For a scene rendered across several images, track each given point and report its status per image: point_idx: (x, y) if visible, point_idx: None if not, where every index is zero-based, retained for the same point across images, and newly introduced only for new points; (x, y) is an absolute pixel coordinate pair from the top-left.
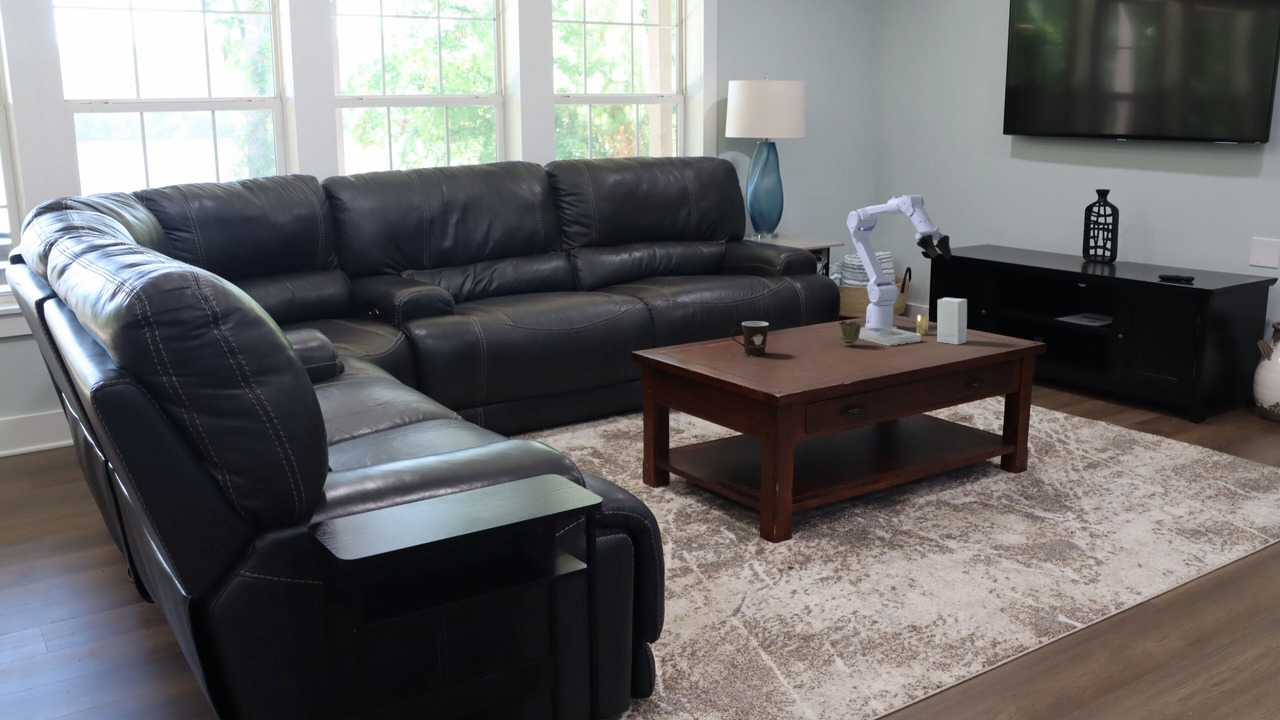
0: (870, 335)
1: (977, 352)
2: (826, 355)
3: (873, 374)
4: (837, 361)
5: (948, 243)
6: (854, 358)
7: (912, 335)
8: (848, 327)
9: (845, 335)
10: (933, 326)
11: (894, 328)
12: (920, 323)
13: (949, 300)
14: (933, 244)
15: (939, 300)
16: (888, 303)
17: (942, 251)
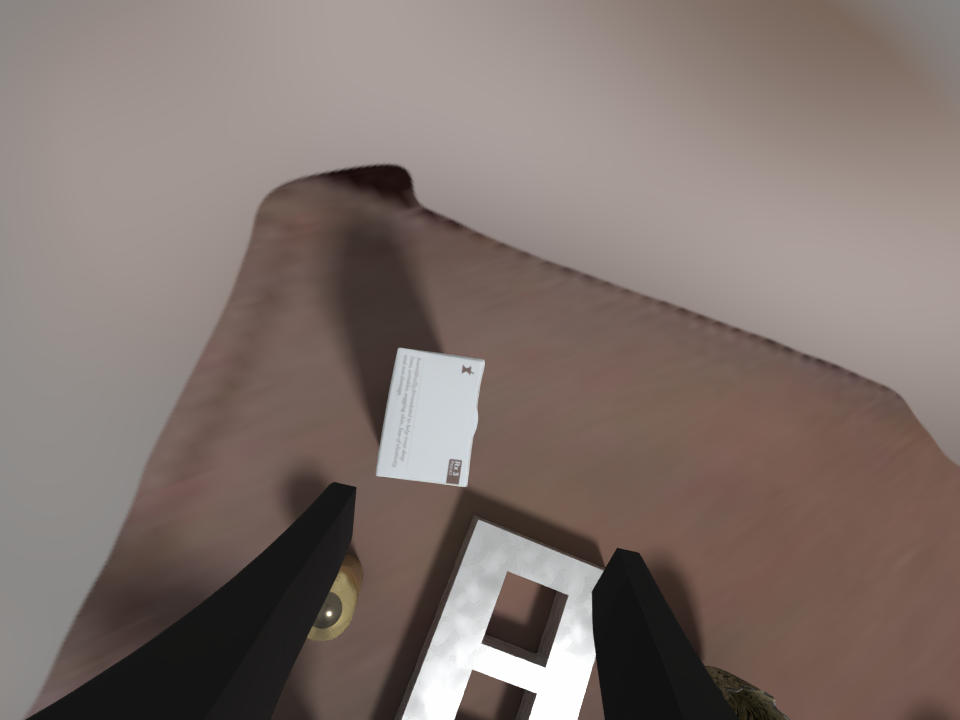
0: (583, 683)
1: (522, 293)
2: (836, 655)
3: (910, 419)
4: (870, 578)
5: (196, 635)
6: (812, 559)
7: (515, 535)
8: (777, 711)
9: (749, 705)
10: (116, 631)
11: (422, 675)
12: (358, 591)
13: (473, 415)
14: (696, 703)
15: (467, 474)
16: None
17: (290, 656)
